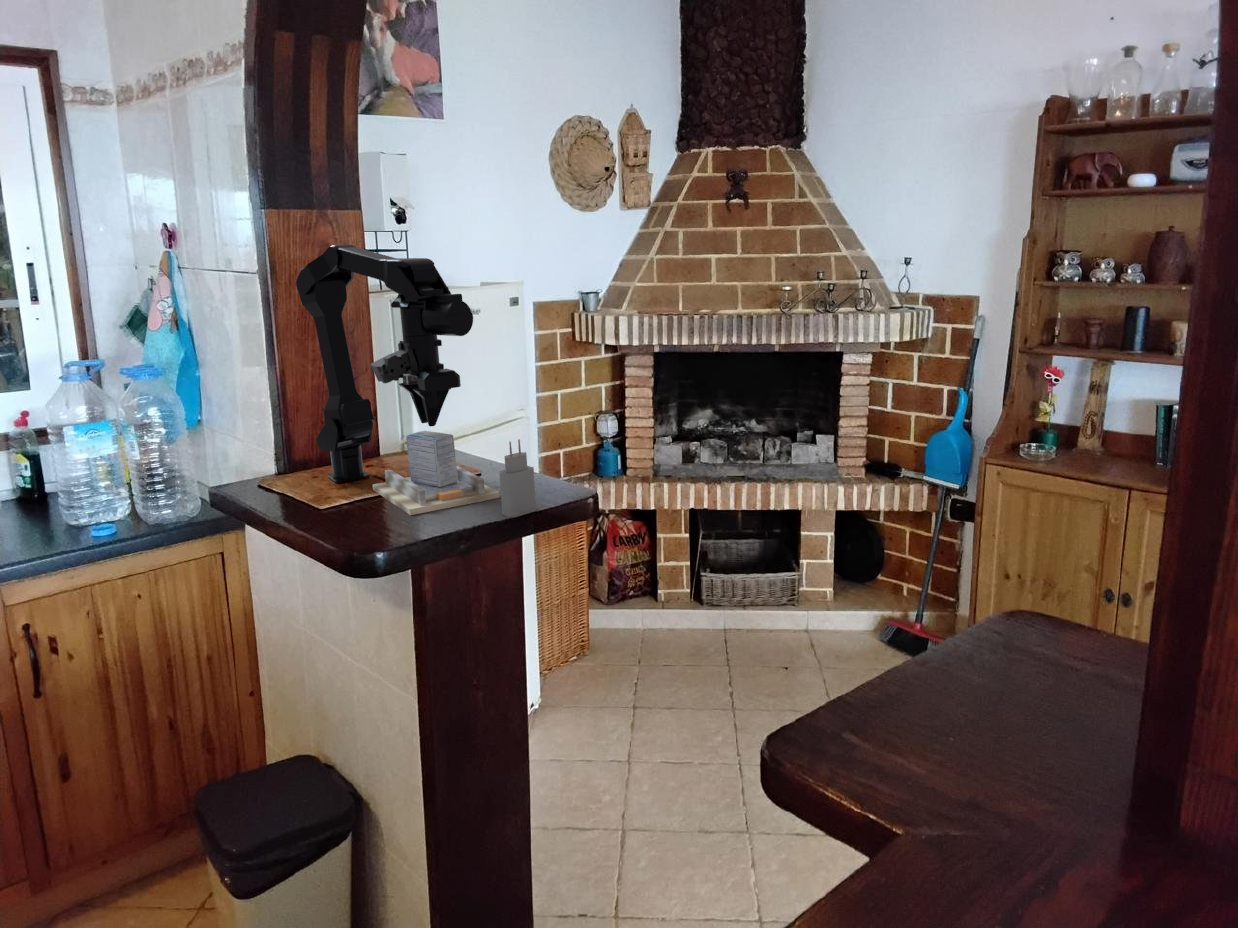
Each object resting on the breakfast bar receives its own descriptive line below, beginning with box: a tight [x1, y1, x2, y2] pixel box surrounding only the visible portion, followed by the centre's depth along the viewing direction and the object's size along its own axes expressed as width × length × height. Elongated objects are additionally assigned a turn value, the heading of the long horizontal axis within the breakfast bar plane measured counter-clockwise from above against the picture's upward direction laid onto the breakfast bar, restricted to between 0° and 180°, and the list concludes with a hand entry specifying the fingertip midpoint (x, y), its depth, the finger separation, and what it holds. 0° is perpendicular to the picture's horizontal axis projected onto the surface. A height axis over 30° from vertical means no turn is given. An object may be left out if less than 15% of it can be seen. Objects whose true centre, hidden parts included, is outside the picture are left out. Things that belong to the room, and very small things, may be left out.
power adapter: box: [499, 439, 537, 518], centre depth 149 cm, size 3×5×12 cm, turn 136°
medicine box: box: [405, 430, 458, 487], centre depth 162 cm, size 8×4×9 cm, turn 52°
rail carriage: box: [404, 476, 473, 501], centre depth 163 cm, size 16×9×1 cm, turn 32°
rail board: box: [372, 465, 501, 516], centre depth 163 cm, size 20×16×4 cm
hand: (428, 424), depth 161 cm, fingers open, 3 cm apart
